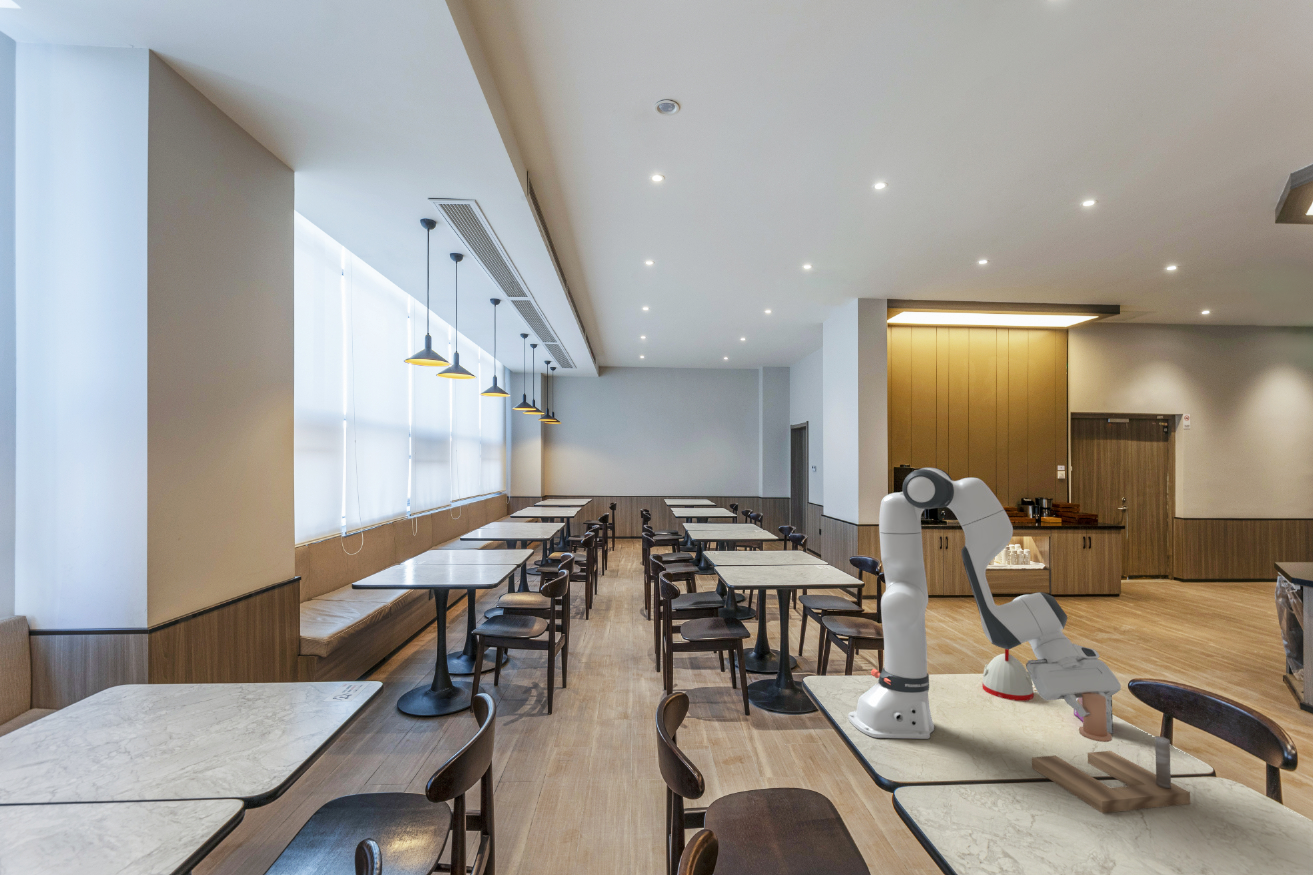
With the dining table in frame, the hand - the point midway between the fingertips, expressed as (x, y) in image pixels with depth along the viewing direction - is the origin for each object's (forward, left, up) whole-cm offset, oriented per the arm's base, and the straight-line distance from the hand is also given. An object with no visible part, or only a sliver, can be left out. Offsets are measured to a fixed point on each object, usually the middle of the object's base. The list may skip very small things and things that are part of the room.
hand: (1096, 715), depth 133 cm
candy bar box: (+25, +25, -15) cm, 38 cm away
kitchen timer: (+19, +49, -15) cm, 54 cm away
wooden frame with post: (0, -2, -14) cm, 15 cm away
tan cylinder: (0, +1, -5) cm, 5 cm away
